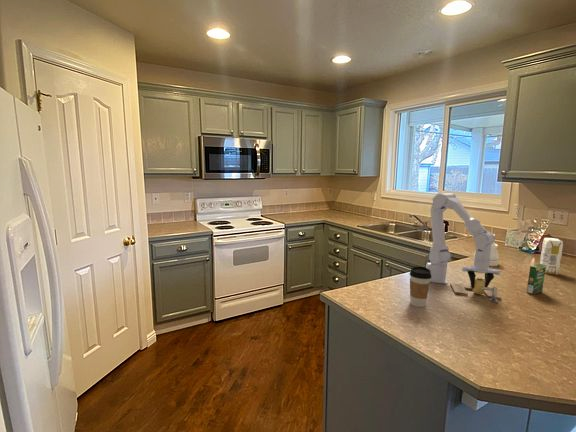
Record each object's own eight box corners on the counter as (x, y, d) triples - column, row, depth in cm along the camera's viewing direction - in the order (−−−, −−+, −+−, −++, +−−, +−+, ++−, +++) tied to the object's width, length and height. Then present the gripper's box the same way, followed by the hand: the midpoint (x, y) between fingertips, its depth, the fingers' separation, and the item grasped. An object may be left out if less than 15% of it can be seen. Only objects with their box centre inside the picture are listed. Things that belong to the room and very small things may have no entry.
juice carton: (542, 273, 175) (547, 240, 173) (537, 269, 183) (542, 237, 180) (559, 275, 173) (565, 241, 170) (553, 271, 181) (558, 238, 178)
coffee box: (532, 295, 144) (536, 267, 142) (525, 292, 147) (529, 265, 145) (542, 292, 148) (546, 265, 146) (535, 290, 150) (539, 263, 148)
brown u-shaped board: (455, 294, 143) (455, 292, 143) (450, 285, 154) (450, 282, 154) (501, 300, 137) (501, 297, 137) (492, 290, 149) (492, 287, 149)
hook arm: (480, 300, 137) (482, 287, 136) (478, 297, 140) (480, 284, 139) (498, 302, 135) (500, 289, 134) (496, 300, 138) (497, 286, 137)
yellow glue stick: (473, 293, 142) (475, 279, 141) (471, 289, 146) (473, 276, 145) (485, 294, 141) (487, 281, 139) (482, 291, 145) (484, 277, 144)
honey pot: (497, 262, 196) (501, 233, 193) (498, 267, 185) (502, 237, 183) (473, 258, 203) (477, 230, 200) (472, 263, 192) (476, 234, 189)
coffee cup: (427, 301, 134) (431, 267, 132) (429, 309, 126) (433, 273, 124) (406, 298, 137) (409, 265, 135) (407, 306, 129) (410, 271, 127)
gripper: (465, 259, 139) (462, 289, 142) (503, 263, 135) (500, 293, 137) (462, 255, 146) (459, 283, 148) (498, 258, 142) (494, 287, 144)
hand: (478, 288), depth 143 cm, fingers closed on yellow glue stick, 4 cm apart
